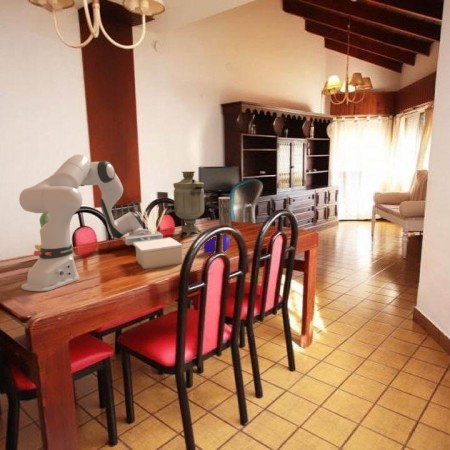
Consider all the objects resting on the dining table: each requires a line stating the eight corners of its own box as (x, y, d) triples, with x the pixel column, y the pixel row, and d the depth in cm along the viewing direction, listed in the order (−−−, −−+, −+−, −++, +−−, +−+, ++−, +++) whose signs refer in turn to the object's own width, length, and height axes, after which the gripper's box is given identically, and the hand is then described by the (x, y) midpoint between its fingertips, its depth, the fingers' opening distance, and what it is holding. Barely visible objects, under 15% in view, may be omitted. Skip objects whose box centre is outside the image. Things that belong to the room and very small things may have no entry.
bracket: (223, 254, 185) (222, 231, 183) (204, 252, 189) (203, 230, 187) (236, 245, 201) (235, 224, 199) (218, 244, 205) (217, 224, 203)
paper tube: (231, 237, 221) (230, 196, 217) (230, 240, 214) (229, 198, 210) (220, 237, 222) (219, 197, 217) (219, 240, 215) (217, 198, 211)
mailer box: (182, 263, 170) (181, 247, 169) (144, 269, 162) (143, 252, 161) (172, 256, 183) (171, 241, 182) (136, 261, 176) (135, 245, 174)
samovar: (163, 230, 249) (159, 172, 241) (200, 227, 256) (197, 170, 249) (170, 239, 221) (166, 173, 213) (211, 235, 228) (209, 171, 221)
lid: (182, 246, 169) (182, 244, 169) (141, 252, 161) (141, 250, 161) (170, 239, 186) (170, 237, 186) (132, 244, 178) (132, 241, 177)
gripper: (121, 233, 197) (126, 238, 185) (158, 229, 206) (165, 233, 194) (122, 244, 198) (127, 250, 186) (159, 240, 207) (166, 244, 195)
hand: (147, 241), depth 190 cm, fingers closed
